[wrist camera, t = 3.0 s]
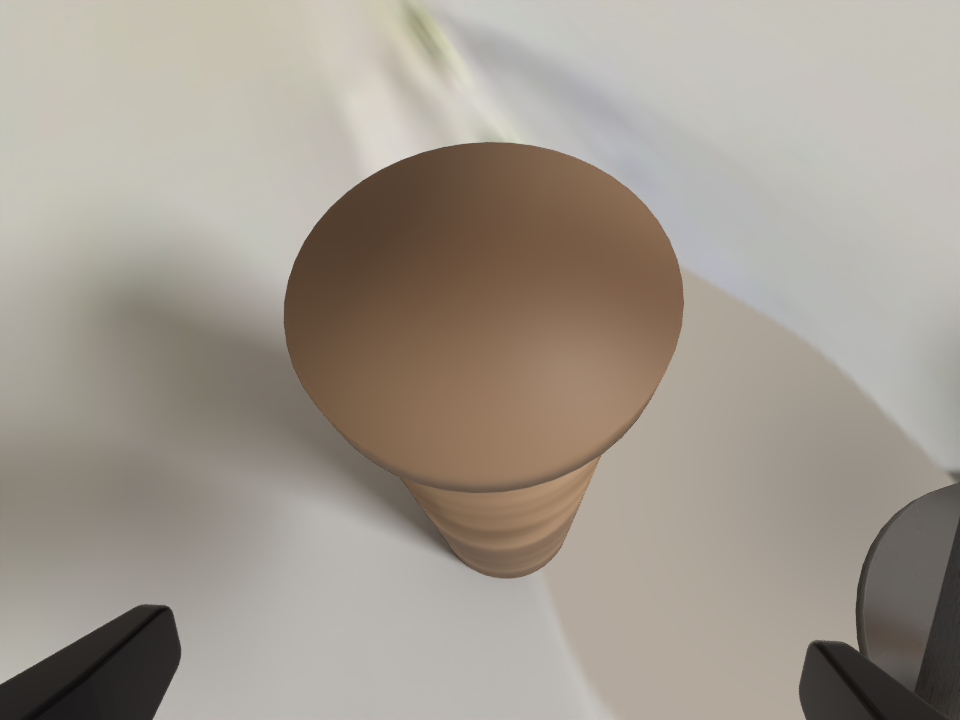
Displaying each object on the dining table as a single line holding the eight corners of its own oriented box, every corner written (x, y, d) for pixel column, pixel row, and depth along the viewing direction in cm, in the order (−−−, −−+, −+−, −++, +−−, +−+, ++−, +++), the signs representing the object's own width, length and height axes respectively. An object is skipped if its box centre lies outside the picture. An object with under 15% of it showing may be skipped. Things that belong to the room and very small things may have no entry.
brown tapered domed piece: (581, 591, 18) (711, 482, 6) (426, 584, 18) (239, 468, 6) (576, 441, 20) (661, 139, 8) (439, 438, 21) (323, 145, 9)
